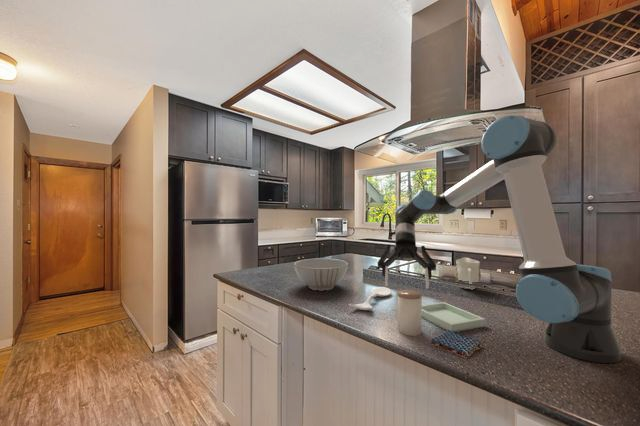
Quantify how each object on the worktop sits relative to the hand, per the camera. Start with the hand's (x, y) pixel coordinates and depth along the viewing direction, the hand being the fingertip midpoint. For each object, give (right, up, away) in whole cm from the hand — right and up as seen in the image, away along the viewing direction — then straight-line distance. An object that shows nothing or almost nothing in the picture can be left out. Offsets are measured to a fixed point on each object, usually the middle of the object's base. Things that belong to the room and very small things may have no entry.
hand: (406, 285), depth 97 cm
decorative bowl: (-29, -12, +43) cm, 53 cm away
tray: (+15, -12, +1) cm, 19 cm away
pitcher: (+41, -12, +39) cm, 58 cm away
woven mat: (+8, -13, -18) cm, 23 cm away
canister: (-1, -12, -8) cm, 15 cm away
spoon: (-8, -13, +21) cm, 25 cm away
